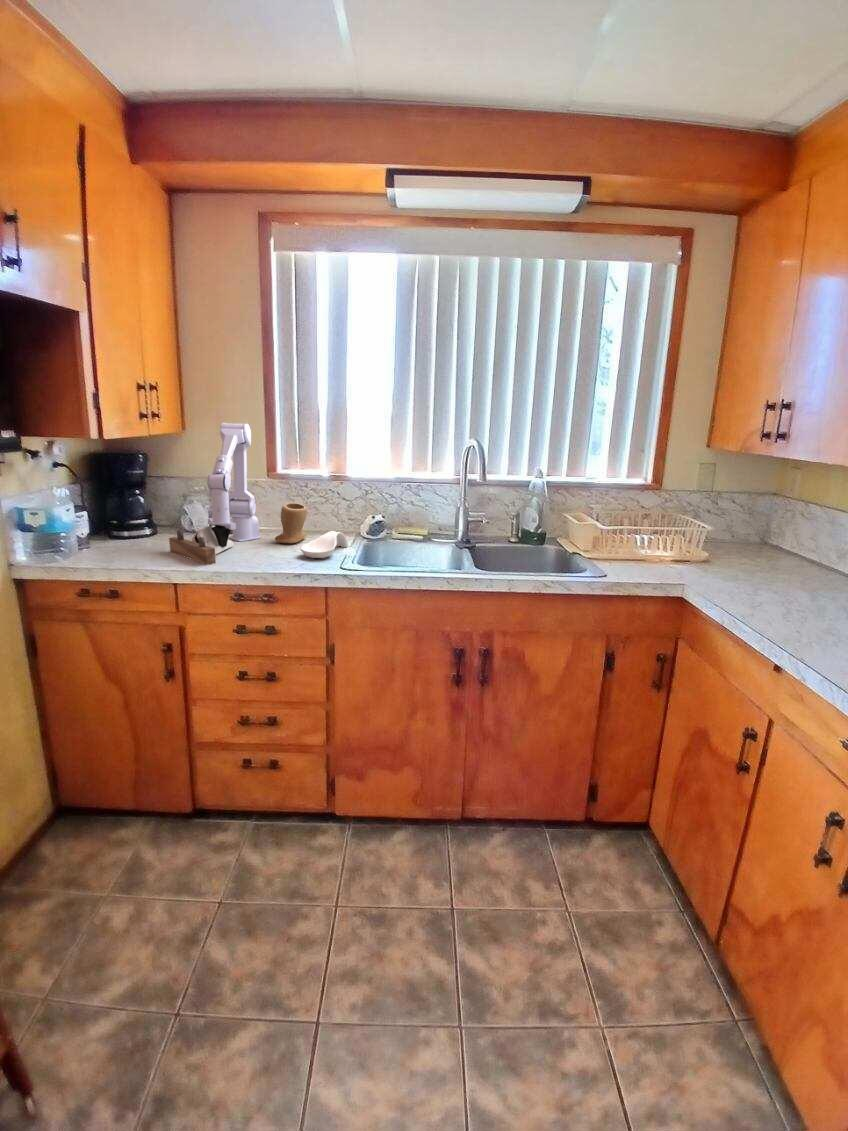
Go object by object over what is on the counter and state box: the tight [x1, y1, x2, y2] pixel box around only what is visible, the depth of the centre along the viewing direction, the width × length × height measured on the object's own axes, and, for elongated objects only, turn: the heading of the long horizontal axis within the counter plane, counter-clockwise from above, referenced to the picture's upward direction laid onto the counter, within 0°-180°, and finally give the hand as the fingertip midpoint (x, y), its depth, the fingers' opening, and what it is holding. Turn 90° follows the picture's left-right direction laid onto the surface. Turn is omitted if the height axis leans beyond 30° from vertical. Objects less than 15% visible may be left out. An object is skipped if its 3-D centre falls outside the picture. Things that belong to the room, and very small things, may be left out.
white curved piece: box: [191, 525, 235, 555], centre depth 199 cm, size 17×5×10 cm, turn 174°
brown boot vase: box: [274, 502, 308, 544], centre depth 218 cm, size 15×12×15 cm
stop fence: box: [168, 530, 217, 565], centre depth 190 cm, size 3×24×8 cm, turn 50°
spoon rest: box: [300, 530, 349, 559], centre depth 202 cm, size 24×12×7 cm, turn 160°
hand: (222, 546), depth 199 cm, fingers closed
